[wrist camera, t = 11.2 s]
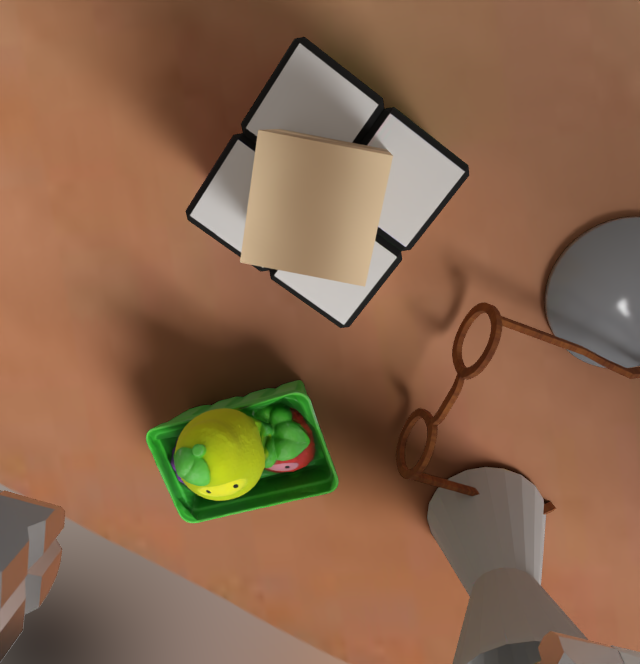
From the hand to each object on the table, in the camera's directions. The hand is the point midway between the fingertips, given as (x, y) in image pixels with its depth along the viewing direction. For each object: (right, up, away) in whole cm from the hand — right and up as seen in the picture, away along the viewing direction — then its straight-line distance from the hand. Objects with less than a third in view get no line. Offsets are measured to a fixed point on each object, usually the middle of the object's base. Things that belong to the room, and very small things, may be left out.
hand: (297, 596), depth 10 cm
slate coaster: (+20, +7, +29) cm, 36 cm away
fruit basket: (-5, -2, +34) cm, 34 cm away
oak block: (+1, +11, +18) cm, 21 cm away
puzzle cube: (+1, +14, +28) cm, 31 cm away
